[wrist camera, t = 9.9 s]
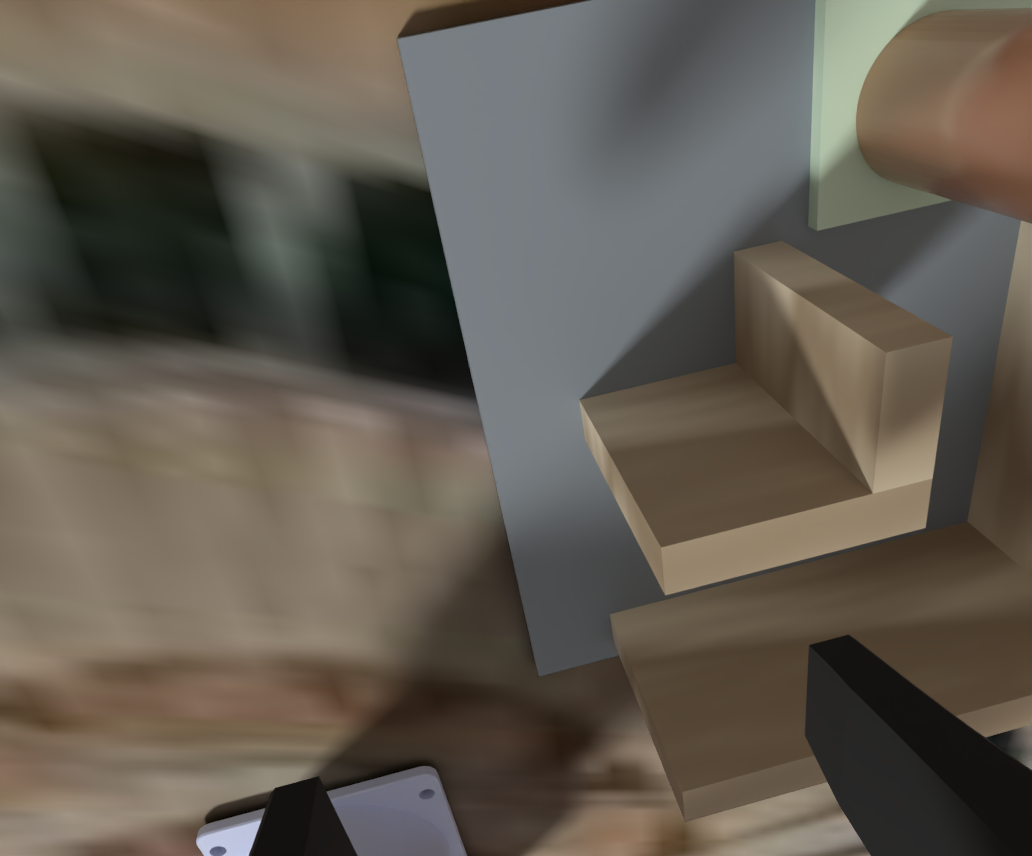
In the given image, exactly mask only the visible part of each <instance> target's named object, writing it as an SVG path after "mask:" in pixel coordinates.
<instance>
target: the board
mask: <svg viewBox="0 0 1032 856" xmlns="http://www.w3.org/2000/svg"><path fill="white" fill-rule="evenodd" d="M815 2H816V0H585V1H580V2H575V3H570V4H565V5H560V6H555V7H550V8H545V9H540V10H535V11H530V12H525V13H520V14H515V15H510V16H505V17H500V18H495V19H490V20H485V21H480V22H475V23H470V24H465V25H460V26H455V27H450V28H445V29H440V30H435V31H430V32H425V33H419V34H414V35H409V36H404V37H399V38H397V42H398V47H399V51H400V56H401V60H402V65H403V69H404V74H405V78H406V83H407V87H408V92H409V96H410V101H411V105H412V110H413V115H414V119H415V124H416V128H417V133H418V137H419V142H420V146H421V151H422V155H423V160H424V164H425V169H426V173H427V178H428V182H429V187H430V191H431V196H432V200H433V205H434V209H435V214H436V218H437V223H438V227H439V232H440V236H441V241H442V245H443V250H444V254H445V259H446V263H447V268H448V272H449V277H450V281H451V286H452V290H453V295H454V299H455V304H456V308H457V313H458V317H459V322H460V326H461V331H462V335H463V340H464V344H465V349H466V353H467V358H468V362H469V367H470V371H471V376H472V380H473V385H474V389H475V394H476V398H477V403H478V407H479V412H480V416H481V421H482V425H483V430H484V434H485V439H486V443H487V448H488V452H489V457H490V461H491V466H492V470H493V475H494V479H495V484H496V488H497V493H498V497H499V502H500V506H501V511H502V515H503V520H504V524H505V529H506V533H507V538H508V542H509V547H510V552H511V556H512V561H513V565H514V570H515V574H516V579H517V583H518V588H519V592H520V597H521V601H522V606H523V610H524V615H525V619H526V624H527V628H528V633H529V637H530V642H531V646H532V651H533V655H534V660H535V664H536V668H537V672H538V676H539V677H540V676H544V675H547V674H551V673H555V672H559V671H563V670H566V669H570V668H574V667H578V666H582V665H585V664H589V663H593V662H597V661H601V660H604V659H608V658H612V657H616V656H619V654H618V652H617V649H616V647H615V644H614V641H613V634H612V627H611V620H610V614H613V613H617V612H620V611H624V610H628V609H632V608H636V607H640V606H643V605H647V604H651V603H655V602H659V601H663V600H667V599H670V598H674V597H678V596H682V595H686V594H690V593H694V592H697V591H701V590H705V589H709V588H713V587H717V586H720V585H724V584H728V583H732V582H736V581H740V580H744V579H747V578H751V577H755V576H759V575H763V574H767V573H771V572H774V571H778V570H782V569H786V568H790V567H794V566H798V565H801V564H805V563H809V562H813V561H817V560H821V559H824V558H828V557H832V556H836V555H840V554H844V553H848V552H851V551H855V550H859V549H863V548H867V547H871V546H875V545H878V544H882V543H886V542H890V541H894V540H898V539H901V538H905V537H909V536H913V535H917V534H921V533H925V532H928V531H932V530H936V529H940V528H944V527H948V526H952V525H955V524H959V523H963V522H967V520H968V515H969V509H970V504H971V498H972V492H973V487H974V481H975V476H976V470H977V464H978V459H979V453H980V448H981V442H982V436H983V431H984V425H985V420H986V414H987V408H988V403H989V397H990V392H991V386H992V380H993V375H994V369H995V364H996V358H997V352H998V347H999V341H1000V336H1001V330H1002V324H1003V319H1004V313H1005V308H1006V302H1007V297H1008V291H1009V285H1010V280H1011V274H1012V269H1013V263H1014V257H1015V252H1016V246H1017V241H1018V235H1019V229H1020V224H1021V220H1017V219H1014V218H1011V217H1007V216H1004V215H1001V214H997V213H994V212H991V211H987V210H984V209H981V208H977V207H974V206H970V205H967V204H964V203H960V202H957V201H954V200H951V201H946V202H942V203H938V204H933V205H929V206H924V207H920V208H916V209H911V210H907V211H902V212H898V213H894V214H889V215H885V216H880V217H876V218H872V219H867V220H863V221H858V222H854V223H850V224H845V225H841V226H836V227H832V228H828V229H823V230H819V231H816V230H814V229H812V228H810V227H808V216H809V185H810V155H811V124H812V94H813V63H814V33H815ZM778 241H783V242H785V243H787V244H789V245H791V246H792V247H794V248H796V249H798V250H799V251H801V252H803V253H805V254H807V255H808V256H810V257H812V258H814V259H815V260H817V261H819V262H821V263H823V264H824V265H826V266H828V267H830V268H831V269H833V270H835V271H837V272H839V273H840V274H842V275H844V276H846V277H847V278H849V279H851V280H853V281H855V282H856V283H858V284H860V285H862V286H864V287H865V288H867V289H869V290H871V291H872V292H874V293H876V294H878V295H880V296H881V297H883V298H885V299H887V300H888V301H890V302H892V303H894V304H896V305H897V306H899V307H901V308H903V309H904V310H906V311H908V312H910V313H912V314H913V315H915V316H917V317H919V318H920V319H922V320H924V321H926V322H928V323H929V324H931V325H933V326H935V327H936V328H938V329H940V330H942V331H944V332H945V333H947V334H949V335H951V336H952V337H953V339H952V346H951V353H950V360H949V367H948V374H947V381H946V388H945V395H944V402H943V409H942V416H941V423H940V430H939V437H938V444H937V451H936V458H935V465H934V472H933V479H932V486H931V493H930V500H929V507H928V514H927V521H926V528H924V529H920V530H916V531H912V532H908V533H904V534H900V535H897V536H893V537H889V538H885V539H881V540H877V541H873V542H870V543H866V544H862V545H858V546H854V547H850V548H846V549H843V550H839V551H835V552H831V553H827V554H823V555H819V556H816V557H812V558H808V559H804V560H800V561H796V562H792V563H789V564H785V565H781V566H777V567H773V568H769V569H765V570H762V571H758V572H754V573H750V574H746V575H742V576H738V577H735V578H731V579H727V580H723V581H719V582H715V583H711V584H708V585H704V586H700V587H696V588H692V589H688V590H684V591H681V592H677V593H673V594H669V595H665V594H664V592H663V590H662V588H661V586H660V584H659V582H658V580H657V579H656V577H655V575H654V573H653V571H652V569H651V567H650V565H649V563H648V561H647V559H646V557H645V555H644V553H643V551H642V549H641V548H640V546H639V544H638V542H637V540H636V538H635V536H634V534H633V532H632V530H631V528H630V526H629V524H628V522H627V520H626V518H625V517H624V515H623V513H622V511H621V509H620V507H619V505H618V503H617V501H616V499H615V497H614V495H613V493H612V491H611V489H610V487H609V486H608V484H607V482H606V480H605V478H604V476H603V474H602V472H601V470H600V468H599V466H598V464H597V462H596V460H595V458H594V456H593V455H592V453H591V451H590V449H589V447H588V445H587V443H586V441H585V436H584V429H583V422H582V415H581V408H580V401H579V400H582V399H586V398H590V397H595V396H599V395H603V394H607V393H611V392H616V391H620V390H624V389H628V388H632V387H637V386H641V385H645V384H649V383H653V382H658V381H662V380H666V379H670V378H674V377H679V376H683V375H687V374H691V373H695V372H700V371H704V370H708V369H712V368H716V367H721V366H725V365H729V364H733V363H736V340H735V286H734V251H739V250H743V249H748V248H752V247H756V246H761V245H765V244H770V243H774V242H778Z"/></svg>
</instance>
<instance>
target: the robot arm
mask: <svg viewBox="0 0 1032 856" xmlns="http://www.w3.org/2000/svg"><path fill="white" fill-rule="evenodd" d="M805 737H806V739H807V741H808V743H809V745H810V747H811V749H812V751H813V753H814V756H815V758H816V760H817V762H818V764H819V766H820V768H821V770H822V772H823V774H824V776H825V778H826V780H827V782H828V784H829V786H830V788H831V790H832V792H833V794H834V796H835V798H836V800H837V802H838V803H839V805H840V807H841V809H842V810H843V812H844V813H845V815H846V817H847V818H848V820H849V821H850V823H851V825H852V826H853V828H854V829H855V831H856V833H857V834H858V836H859V837H860V839H861V840H862V842H863V844H864V845H865V847H866V848H867V850H868V852H869V853H870V855H871V856H1032V770H1031V769H1029V768H1028V767H1026V766H1025V765H1023V764H1022V763H1020V762H1019V761H1017V760H1016V759H1015V758H1013V757H1012V756H1010V755H1009V754H1008V753H1006V752H1005V751H1003V750H1002V749H1001V748H999V747H998V746H996V745H995V744H994V743H992V742H991V741H989V740H988V739H987V738H985V737H984V736H983V735H981V734H980V733H978V732H977V731H976V730H974V729H973V728H971V727H970V726H969V725H967V724H966V723H964V722H963V721H962V720H960V719H959V718H958V717H956V716H955V715H954V714H952V713H951V712H950V711H948V710H947V709H946V708H944V707H943V706H942V705H940V704H939V703H938V702H936V701H935V700H934V699H932V698H931V697H930V696H928V695H927V694H926V693H924V692H923V691H922V690H920V689H919V688H918V687H917V686H915V685H914V684H913V683H911V682H910V681H909V680H907V679H906V678H905V677H904V676H902V675H901V674H900V673H898V672H897V671H896V670H895V669H893V668H892V667H891V666H889V665H888V664H887V663H886V662H884V661H883V660H882V659H881V658H879V657H878V656H877V655H875V654H874V653H873V652H872V651H870V650H869V649H868V648H866V647H865V646H864V645H863V644H861V643H860V642H859V641H858V640H856V639H855V638H853V637H852V636H850V635H845V636H841V637H837V638H833V639H830V640H826V641H822V642H818V643H815V644H811V645H809V654H808V676H807V697H806V718H805ZM196 843H197V846H198V847H199V849H200V850H201V852H202V853H203V855H204V856H467V854H466V851H465V848H464V845H463V842H462V840H461V837H460V834H459V831H458V828H457V826H456V823H455V820H454V817H453V814H452V812H451V809H450V806H449V803H448V800H447V798H446V795H445V792H444V789H443V786H442V783H441V781H440V778H439V775H438V772H437V771H436V770H435V769H434V768H432V767H430V766H420V767H416V768H412V769H409V770H405V771H401V772H398V773H394V774H390V775H386V776H383V777H379V778H375V779H372V780H368V781H364V782H360V783H357V784H353V785H349V786H346V787H342V788H338V789H334V790H331V791H327V792H326V790H325V788H324V786H323V784H322V782H321V780H320V778H319V776H318V777H315V778H311V779H307V780H303V781H300V782H296V783H292V784H288V785H285V786H281V787H277V788H275V789H274V791H273V792H272V793H271V794H270V797H269V799H268V802H267V805H266V808H264V809H260V810H257V811H253V812H249V813H245V814H242V815H238V816H234V817H231V818H227V819H223V820H219V821H216V822H212V823H209V824H206V825H204V826H202V827H201V828H200V829H199V831H198V835H197V840H196Z"/></svg>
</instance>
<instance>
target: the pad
mask: <svg viewBox="0 0 1032 856" xmlns="http://www.w3.org/2000/svg"><path fill="white" fill-rule="evenodd" d="M1002 8H1032V0H816V2H815V33H814V63H813V94H812V124H811V155H810V185H809V216H808V227H810V228H812V229H814V230H816V231H819V230H823V229H828V228H832V227H836V226H841V225H845V224H850V223H854V222H858V221H863V220H867V219H872V218H876V217H880V216H885V215H889V214H894V213H898V212H902V211H907V210H911V209H916V208H920V207H924V206H929V205H933V204H938V203H942V202H946V201H951V200H950V199H947V198H944V197H940V196H937V195H934V194H930V193H927V192H923V191H920V190H917V189H913V188H910V187H907V186H903V185H900V184H897V183H894V182H891V181H888V180H886V179H884V178H882V177H881V176H879V175H878V174H877V173H876V172H874V171H873V170H872V168H871V167H870V166H869V165H868V164H867V162H866V160H865V159H864V157H863V155H862V152H861V150H860V147H859V143H858V139H857V132H856V112H857V105H858V100H859V96H860V92H861V89H862V86H863V84H864V81H865V79H866V77H867V74H868V72H869V70H870V68H871V67H872V65H873V63H874V61H875V60H876V58H877V57H878V55H879V54H880V53H881V51H882V50H883V49H884V47H885V46H886V45H887V44H888V43H889V42H890V41H891V40H892V39H893V38H894V37H895V36H896V35H897V34H898V33H899V32H900V31H901V30H903V29H904V28H905V27H907V26H908V25H910V24H911V23H913V22H915V21H916V20H918V19H920V18H922V17H924V16H927V15H929V14H932V13H936V12H939V11H946V10H965V9H1002Z"/></svg>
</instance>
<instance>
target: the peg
mask: <svg viewBox="0 0 1032 856" xmlns="http://www.w3.org/2000/svg"><path fill="white" fill-rule="evenodd" d="M856 132H857V139H858V143H859V147H860V150H861V152H862V155H863V157H864V159H865V160H866V162H867V164H868V165H869V166H870V167H871V168H872V170H873V171H874V172H876V173H877V174H878V175H879V176H881V177H882V178H884V179H886V180H888V181H891V182H894V183H897V184H900V185H903V186H907V187H910V188H913V189H917V190H920V191H923V192H927V193H930V194H934V195H937V196H940V197H944V198H947V199H950V200H954V201H957V202H960V203H964V204H967V205H970V206H974V207H977V208H981V209H984V210H987V211H991V212H994V213H997V214H1001V215H1004V216H1007V217H1011V218H1014V219H1017V220H1021V221H1024V222H1028V223H1031V224H1032V8H1002V9H965V10H946V11H939V12H936V13H932V14H929V15H927V16H924V17H922V18H920V19H918V20H916V21H915V22H913V23H911V24H910V25H908V26H907V27H905V28H904V29H903V30H901V31H900V32H899V33H898V34H897V35H896V36H895V37H894V38H893V39H892V40H891V41H890V42H889V43H888V44H887V45H886V46H885V47H884V49H883V50H882V51H881V53H880V54H879V55H878V57H877V58H876V60H875V61H874V63H873V65H872V67H871V68H870V70H869V72H868V74H867V77H866V79H865V81H864V84H863V86H862V89H861V92H860V96H859V100H858V105H857V112H856Z"/></svg>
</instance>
